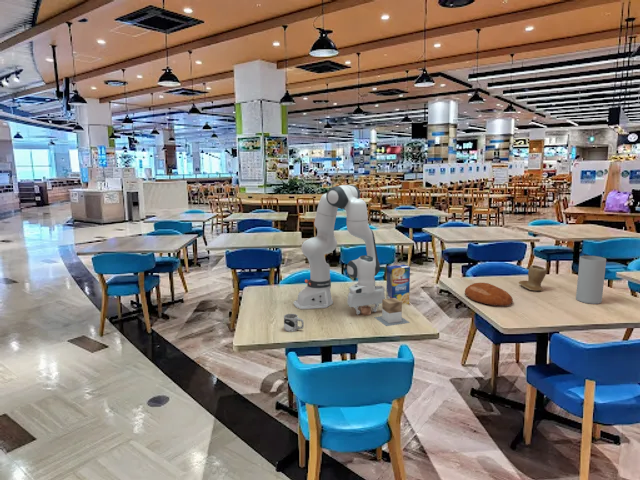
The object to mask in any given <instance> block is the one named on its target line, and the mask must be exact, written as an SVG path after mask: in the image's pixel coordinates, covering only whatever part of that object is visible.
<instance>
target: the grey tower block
mask: <svg viewBox="0 0 640 480" xmlns="http://www.w3.org/2000/svg"><path fill="white" fill-rule="evenodd" d="M402 313H403V312H396V313H388V312H386V311H385V310H383V309H382V308H381V314H382V315H381V316H382V319H384V320H385V321H386V322H388V323H394V322H400V321H402V318H403V317H402Z"/></svg>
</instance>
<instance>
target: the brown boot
mask: <svg viewBox="0 0 640 480" xmlns="http://www.w3.org/2000/svg"><path fill="white" fill-rule="evenodd" d="M527 275H528V276H527V277H528V278H527V279H528V280H520V281H518V284H519V285H520V286H522V287H523V288H525V289H527V290H528V291H529V290H530V291H532V292H533V291H534V292H541V291H544V288H543V286H542V282H543V280H544V279H545V278H546V275H547V268H545V267H542V266H540V265H535V264H531V265H530V266H529V267H528V272H527Z"/></svg>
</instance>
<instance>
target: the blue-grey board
mask: <svg viewBox="0 0 640 480" xmlns="http://www.w3.org/2000/svg"><path fill="white" fill-rule="evenodd" d="M374 319H376V320H377V321H378V322H380V323H381V324H383V325H384V326H385V327H390V326H397V325H398V326H399V325H403V324H411V322H410V321H408V320H407V319H405V318H403V317H402V321H400V322H394V323H388V322H386V321H385V320H384V319H382V315H380V316H375V317H374Z"/></svg>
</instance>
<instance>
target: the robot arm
mask: <svg viewBox="0 0 640 480" xmlns="http://www.w3.org/2000/svg"><path fill="white" fill-rule="evenodd" d="M338 209H340V210H343V209H344V210H345V212H346V213H345V214H346V229H347V232H348V233H349V234H350V235H351V236H352V237H355V238H357V239H358V238H359V239H361V240H362V241H363V242H364V244H365V250H366V254H365V255H360V256H359V257H358V258H356V259H353V260H349V261H348V262H347V265H346V273H347V275H348V276H349V277H350V278H352V279H357V283H355V284H354V285H351V286H349V287H348V290H349V292H348V295H347V306H348V307H350V308H354V310H355V313H356V315H360V314H361V310H359V307H362V306H371V305H372V306H373V305H374V307H373V308H372V312H373V313H376V312H378V311H377V310H378V308H379V305H380V304H382V299H386V297H385V291H386V290H385V287H384V285H376V279H375V277H376V276H377V274H379V272H380V269H381V265H380V262H379V261H380V260H379V258H378V252H377V251H378V250H377V243H376V238H375V235H374V234H375V233H374V231H373V230H372V228H370V226H369V221H368V219H369V218H368V217H369V216H368V215H369V214H368V207H367V203H366V201H365V200H363V199H362V198H361V192H360V189H359V187H357V186H356V185H353V184H342V185H335V186H332V187H331V188H329V189H328V190H327V192H325V193H323V194H322V195H321V197H320V200H319V202H318V205H317V208H316V212H315V219H314V223H313V224H314V227H315V228H316V231H317V233H316V236H314V237H313V236H312V237H310V238H308V239H306V240H304V241H303V243H302V244H301V252H302V254H303V255H304V257H306V259H307V260H308V265H309V269H310V270H309V272H310V279H305V280H304V282H305V284H307V285H306V287H304V288H303V289H302V290H300V291H299V292H298V294H297V297H296V298H297V300H294V301H293V306H294V307H295V308H297V309H298V310H299V309H300V310H309V309H310V310H311V309H326V308H329V306H332V305H333V303H334V301H333V298H332V292H331V286H332V281H331V272H330V271H331V270H330V269H331V268H330V264H329V263H328V262H327V261H326V257H325V255H328V254H331V252H333V251H335V250H336V249H337V246H338V239H337V238H336V237H335V225H336V224H335V223H336V219H337V215H338Z"/></svg>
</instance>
